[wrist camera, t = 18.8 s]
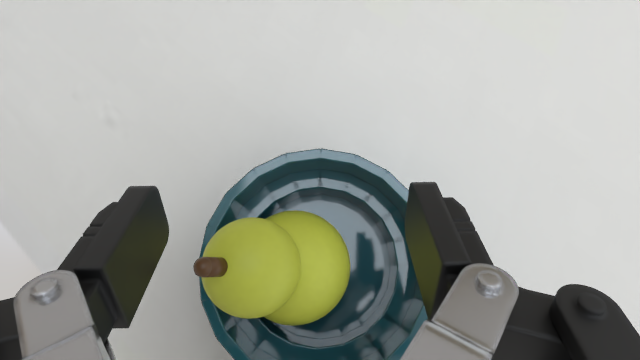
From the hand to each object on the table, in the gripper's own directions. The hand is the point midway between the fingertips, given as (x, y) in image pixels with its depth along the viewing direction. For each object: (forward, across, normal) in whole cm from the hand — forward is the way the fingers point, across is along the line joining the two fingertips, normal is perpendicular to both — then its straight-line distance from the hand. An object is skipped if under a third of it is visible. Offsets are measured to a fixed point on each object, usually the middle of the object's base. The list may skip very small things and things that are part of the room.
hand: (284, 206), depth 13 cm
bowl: (+6, -1, +9) cm, 10 cm away
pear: (+5, -1, +8) cm, 10 cm away
